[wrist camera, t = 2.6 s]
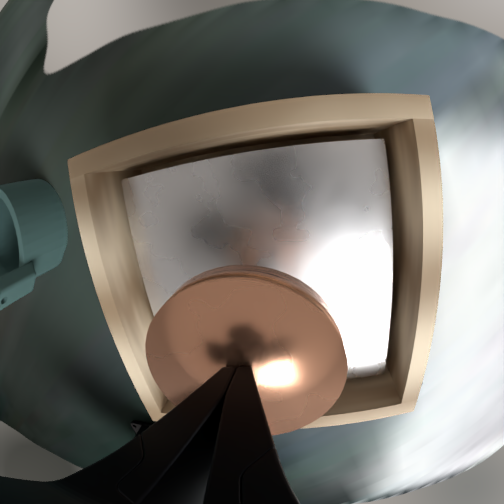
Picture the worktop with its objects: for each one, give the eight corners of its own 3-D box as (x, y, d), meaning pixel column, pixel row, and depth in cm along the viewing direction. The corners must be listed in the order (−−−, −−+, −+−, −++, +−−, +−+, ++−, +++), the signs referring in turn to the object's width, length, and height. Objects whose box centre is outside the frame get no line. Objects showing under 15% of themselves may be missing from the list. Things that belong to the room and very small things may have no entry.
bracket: (10, 186, 19) (-61, 204, 11) (65, 170, 18) (-27, 185, 9) (25, 273, 22) (-37, 309, 13) (81, 278, 20) (6, 329, 12)
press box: (388, 350, 18) (413, 410, 12) (183, 364, 21) (152, 420, 15) (382, 118, 14) (429, 95, 8) (132, 158, 17) (67, 159, 11)
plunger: (380, 363, 15) (411, 458, 8) (183, 375, 17) (139, 459, 10) (377, 140, 12) (460, 118, 5) (131, 178, 14) (25, 196, 7)
